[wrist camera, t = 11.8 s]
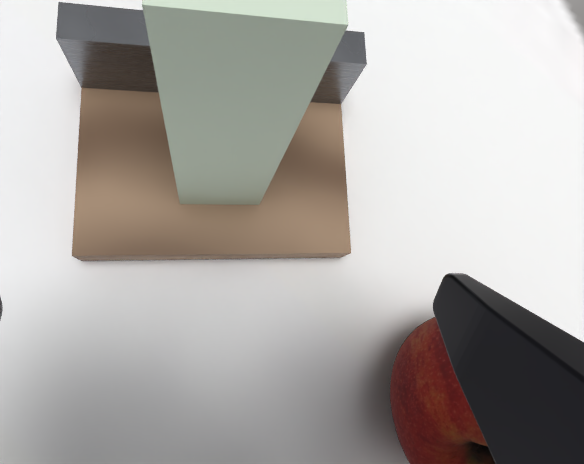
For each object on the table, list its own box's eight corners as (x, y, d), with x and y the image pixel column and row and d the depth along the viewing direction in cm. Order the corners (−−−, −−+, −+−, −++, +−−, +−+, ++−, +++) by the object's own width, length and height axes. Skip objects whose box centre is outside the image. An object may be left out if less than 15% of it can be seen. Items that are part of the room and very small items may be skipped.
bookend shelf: (341, 257, 22) (380, 239, 17) (81, 260, 19) (41, 240, 14) (330, 91, 23) (364, 32, 19) (91, 75, 21) (58, 2, 16)
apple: (334, 354, 21) (412, 375, 13) (461, 285, 23) (594, 268, 15) (404, 504, 20) (531, 620, 12) (529, 418, 22) (705, 472, 14)
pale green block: (259, 204, 20) (348, 24, 8) (179, 204, 19) (142, 4, 7) (256, 113, 21) (332, -178, 9) (180, 109, 20) (147, -214, 8)
